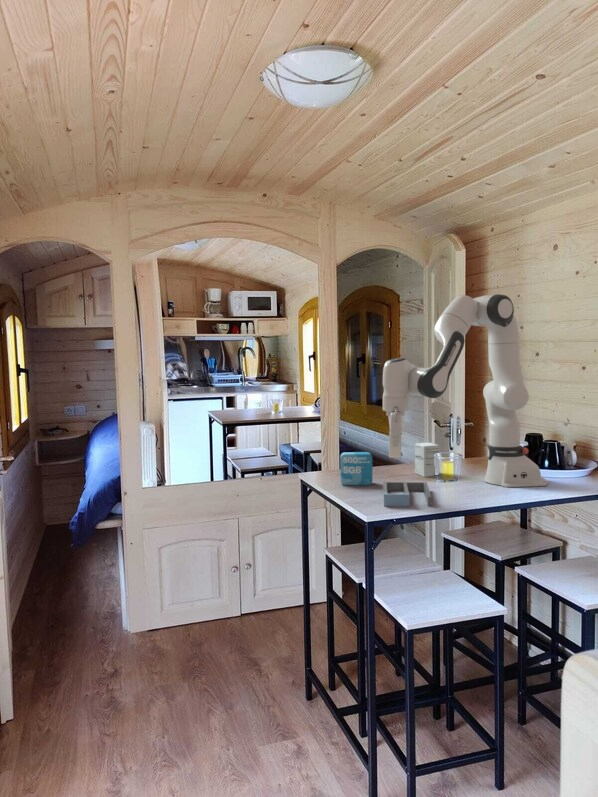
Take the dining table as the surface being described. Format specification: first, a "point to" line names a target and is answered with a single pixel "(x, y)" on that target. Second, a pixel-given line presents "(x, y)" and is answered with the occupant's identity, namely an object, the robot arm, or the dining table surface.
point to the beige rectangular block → (394, 451)
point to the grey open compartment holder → (404, 498)
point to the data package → (356, 468)
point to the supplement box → (425, 458)
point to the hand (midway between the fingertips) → (395, 445)
